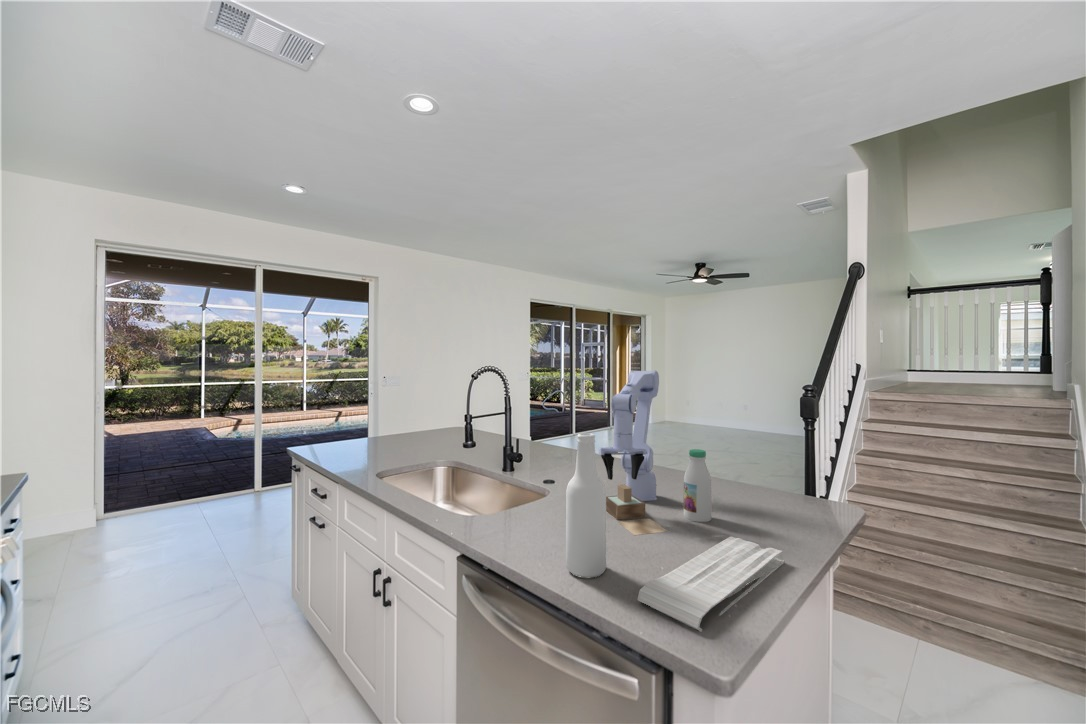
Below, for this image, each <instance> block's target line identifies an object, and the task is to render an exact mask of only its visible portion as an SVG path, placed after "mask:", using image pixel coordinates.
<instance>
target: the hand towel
mask: <svg viewBox="0 0 1086 724" xmlns="http://www.w3.org/2000/svg"><path fill="white" fill-rule="evenodd" d="M781 554H783V550H780V549H777V548H773V547H766V548H762V547H761V545H759V544H758V543H755V542H753V541H748V540H744V539H742V538H740V537H737V538H736V537H734V536H732V535H730V536H729V537H727V538H726V539H724V540H722V541H720V542H719V543H717V544H715V545H713V546H712V547H710V548H709V549H706V550H705V551H703V552H702V553H700V554H698V555H697V556H695V557H693V558H691V559H690V560H688V561H686V562H685V563H682V564H681V565H680V566H678V567H676V568H675V569H673V570H671V571H669V572H668V573H666V574H664V575H663V576H660V577H657V578H654V579H651V580H650V581H648V583H646V584H645V585H644V586H642V587H641V588H640V589H639V592H638V596H637V599H636V600H637V601H638V602H640V603H641V602H642V603H641V604H643V603H644V605H645V604H646V606H647V605H648V606H647V607H649V606H650V608H652V609H653V608H654V609H653V610H655V609H656V610H655V611H658V612H660V613H662V614H664V615H666V616H667V617H670V618H672V619H674V620H675V621H678V622H680V623H681V624H684V625H685V626H688V627H690V628H693V630H695V631H699V632H700V633H701V632H703V631H702V630H703V628H702V627H700V625H701V622H702V619H703V617H704V616H705V615H706V614H707V613H708V612H710V611H711V609H712V608H714V607H715V606H717V605H718V604H719V603H721V602H722V601H723V600H726V599H729V598H730V597H732V596H734V595H735V594H737V593H738V592H741V590H743V589H744V588H745V587H744V586H746V584H747V583H749V582H751V581H753V580H754V579H756V580H757V582H756V581H755V582H756V583H755V582H754V581H753V582H754V583H755V584H754V583H753V584H754V585H753V584H752V585H750V586H749V587H750V588H749V587H748V588H749V589H748V588H747V589H746V590H744V591H745V592H742V593H741V594H739V595H738V596H737V597H736V598H735V599H734V600H732V601H731V602H730V603H729V604H728V605H727V606H726V607H724V608H723V609H722V610H721V611H720V613H719V617H721V616H722V615H723V614H724V613H725V612H726V611H728V610H729V609H730V608H731V607H732V606H733V605H735V604H736V603H737V602H739V601H740V600H742V598H744V597H745V596H746V595H748V594H749V593H750V592H751V591H753V590H754V589H755V588H756V587H757V586H759V584H761V583H762V582H763V581H764V580H765V579H766V578H768V577H769V576H770V575H772V573H774V572H775V571H776V570H777V569H779V568H780V567H782V565H784V564H785V562H786V561H785V560H781V559H779V558H777V557H778V556H779V555H781ZM751 583H752V582H751ZM746 587H747V586H746ZM742 588H743V589H742ZM753 588H754V589H753ZM748 592H749V593H748ZM733 594H734V595H733Z"/></svg>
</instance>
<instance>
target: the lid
mask: <svg viewBox="0 0 1086 724" xmlns="http://www.w3.org/2000/svg"><path fill="white" fill-rule="evenodd" d="M615 496H616V497H608V499H610V500H611V501H613V502H614V503H615V504H617V505H628V504H638V503H642V502H643V501H642V502H640V501H638V500H637V499H635V498H634V497H632V488H630V487H628V486H627V485H626V483H625V484H618V485H617V495H615Z"/></svg>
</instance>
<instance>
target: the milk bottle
mask: <svg viewBox="0 0 1086 724" xmlns="http://www.w3.org/2000/svg"><path fill="white" fill-rule="evenodd" d="M688 452H689V453H688V454H689V456H688V457H689V463H688V465H687V468H686V470H685V473H684V477H683V517H684V519H686V520H687V521H689V522H695V523H708V522H709V521H712V477H711V474H710V472H709V469H708V467H707V465H706V456H707V452H706V450H704V449H698V448H697V449H696V448H695V449H689V451H688Z"/></svg>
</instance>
